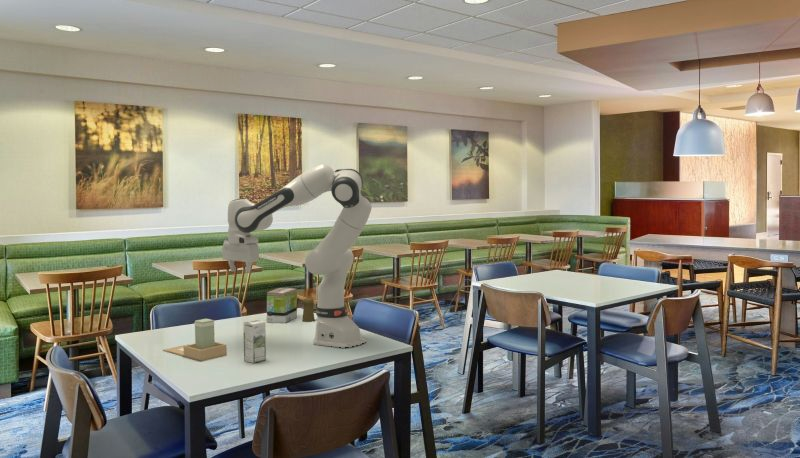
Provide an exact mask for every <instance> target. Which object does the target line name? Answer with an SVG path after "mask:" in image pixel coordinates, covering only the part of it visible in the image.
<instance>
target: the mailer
mask: <svg viewBox="0 0 800 458" xmlns="http://www.w3.org/2000/svg"><path fill="white" fill-rule="evenodd" d="M162 351H163V352H166V353H169V354H174V355H177V356H180V357H184V358H187V359H191V360H195V361H198V362H204V361H208V360H212V359H217V358H220V357H224V356H227V355H228V352H227V344H226V343H222V342H219V341H218V342H216V341H215V347H212V348H207V349H203V350H199V349H196V346H195V343H191V344H189V343H188V344H183V345H179V346H178V345H177V346H174V347H170V348H164V349H162Z"/></svg>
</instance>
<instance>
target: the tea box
mask: <svg viewBox="0 0 800 458" xmlns="http://www.w3.org/2000/svg"><path fill="white" fill-rule="evenodd" d="M297 317H298V288H289V287H288V288H287V287H278V288H275V289H273V290H269V291H267V292H266V323H273V324H286V323H287V322H290V321H292V320H294V319H296V318H297Z"/></svg>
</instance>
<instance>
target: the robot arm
mask: <svg viewBox="0 0 800 458" xmlns="http://www.w3.org/2000/svg"><path fill="white" fill-rule="evenodd" d="M363 184H364V182H363V177H362V175H361V173H360V172H359V171H358V170H356V169H354V168H341V169H339V168H338V169H336V170H335V171H334V170H333V168H332V167H331V166H330V165H328V164H327V163H326V164H325V163H321V164H318V165H316V166H313V167H311V168H308V169H307V170H305V171H303V172H302V173H301V174H299V175H298V176H296V177H295V178H294V179H292V180H291V181H290V182H289V183H287V184H286V185H284V186H283V187H281V188H280V189H278V190H277V191H276V192H273V194H271V195H269V196H268V197H266V198H264V199H262V200H261V201H259V202H257V203H254V202H252V201H250V200H249V199H248V198H237V199H233V200H231V201H230V202H229V203H228V206H227V223H228V228H227V229H228V230H227V234H228V235H227V237H225V239H224V240H223V244H222V250H221V258H222V260H223V261H228V265H229V268H230V272H237V266H235V262H243V263H245V268H243V269H244V273H245V274H249V273H251V268H252V266H253V263H257V262H258V261H259V259H260V258H259V257H260V250H259V249H260V248H259V245H258V243H259V238H258V237H257V236H256V235H254V234H252V232H258V231H264V230H266V229H269V228H270V227H271V226H272V224H273V220H274V218H273V214H274V213H275V212H277V211H279V210H281V209H283V208H287V207H293V206H300V205H305V204H306V203H310V202H311V201H314V200H315V199H317V198H319V197H320V196H321V195H323V194H325V193H327V192H331V195H332V197H333V198H334V200H335V201H336V202H337V203H339V204H340V205H341V206H342V210H341V211H340V213H339V215H338V216H337V218H336V221H335V222H334V223H333V226H332V228H331V229H330V230H329V232H327V234H326V236H325V237H324V238H322V240H321V241H320V242H319V243H318V244H317V246H316V247H314V248H313V249H312V250H311V251H309V252H307V254H306V256H305V258H304V263H305V264H304V265H305V268H306V269H307V271H308V272H309V273H310V274H312V275H318V276H320V275H321V276H322V279H321V282H320V283H319V284H318V286H317V289H316V290H317V291H316V295H317V297H316V301H317V306H316V310H315V313H316V315H315V316H317V317H316V318H317V320H316V324H315V335H314V340H313V344H314V345H317V346H324V347H331V346H332V348H339V347H341V348H340V349H346V348H345V347H349V348H353V347H352V346H354V347H357V346H356V345H358V346H361V345H363V344H362V343H364V344H366V343H367V342H366V341H367V339H366V338H363V337H362V336H361V335H362V334H361V330H360V327H359V325H358V324H356V323H355V322H354V321H353V320H352V319H351V317H349V315H348V313H349V312H350V309H349V308H348V309H347V307H346V306H345V285H346V280H347V277H348V274H349V271H350V268H351V267H352V265H353V264H354V261H355V256H354V253H353V251H352V249H350V248H351V247H353V246H354V245H355V244H356V242H357V241H358V238H359V237H360V235H361V233H362V232H363V231H364V228H365V226H366V224H367V222H368V220H369V218H370V215H371V212H372V204H371V202H370V200H368V199H367V198H366V197H365V196H363V195H362V193H361V192H362V187H363ZM365 342H366V343H365ZM360 344H361V345H360Z"/></svg>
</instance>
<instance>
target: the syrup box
mask: <svg viewBox="0 0 800 458" xmlns="http://www.w3.org/2000/svg"><path fill="white" fill-rule="evenodd" d="M266 332H267V330H266V321H264V320H260V319H254V320H249V321H244V322H243V361H244V362H248V363H251V364H255V363H259V362H264V361H266V359H267V356H266V355H267V354H266V353H267V352H266V350H267V347H266V345H267V344H266V343H267V342H266V339H267V337H266Z"/></svg>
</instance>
